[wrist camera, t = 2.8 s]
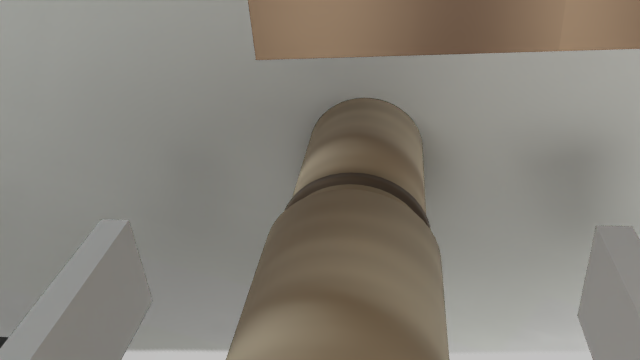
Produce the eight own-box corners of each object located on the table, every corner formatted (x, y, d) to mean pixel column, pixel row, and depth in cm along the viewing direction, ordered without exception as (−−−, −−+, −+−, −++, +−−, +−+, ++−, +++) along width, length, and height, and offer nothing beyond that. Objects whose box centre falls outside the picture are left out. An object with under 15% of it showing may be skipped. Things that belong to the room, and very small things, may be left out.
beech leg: (306, 204, 21) (178, 693, 9) (294, 90, 19) (105, 543, 7) (430, 205, 20) (464, 731, 9) (433, 87, 18) (486, 581, 6)
